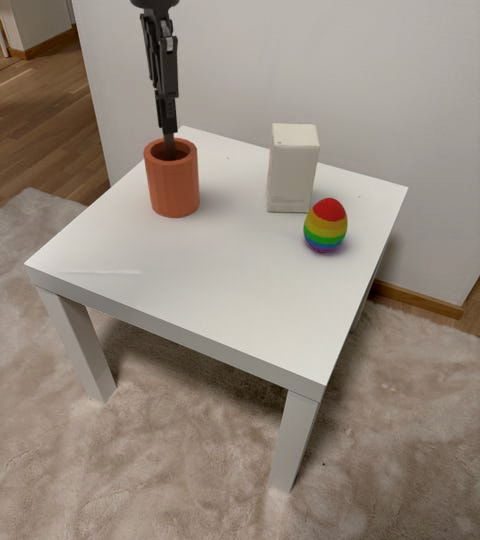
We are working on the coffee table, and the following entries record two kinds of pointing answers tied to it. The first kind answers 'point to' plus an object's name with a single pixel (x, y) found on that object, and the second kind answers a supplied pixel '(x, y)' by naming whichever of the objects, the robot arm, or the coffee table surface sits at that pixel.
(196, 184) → the jar
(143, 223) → the coffee table surface
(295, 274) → the coffee table surface
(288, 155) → the rectangular carton
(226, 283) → the coffee table surface
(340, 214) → the decorative egg
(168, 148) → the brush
